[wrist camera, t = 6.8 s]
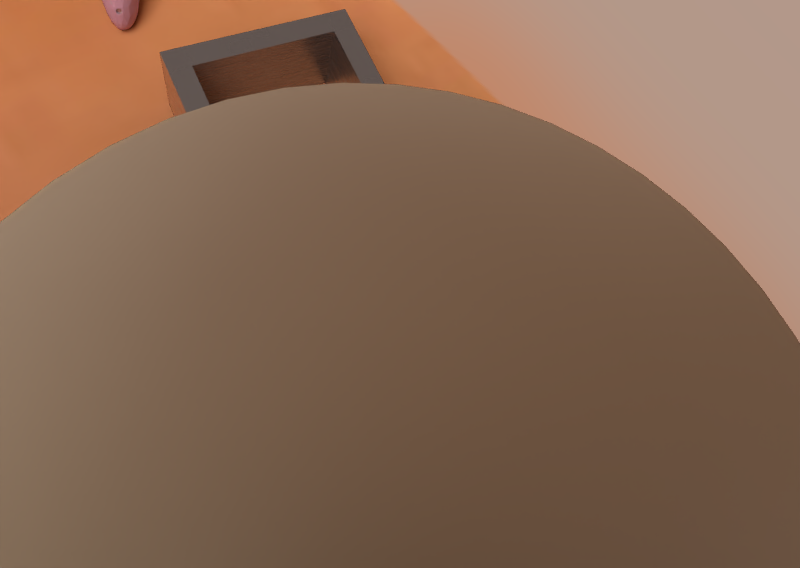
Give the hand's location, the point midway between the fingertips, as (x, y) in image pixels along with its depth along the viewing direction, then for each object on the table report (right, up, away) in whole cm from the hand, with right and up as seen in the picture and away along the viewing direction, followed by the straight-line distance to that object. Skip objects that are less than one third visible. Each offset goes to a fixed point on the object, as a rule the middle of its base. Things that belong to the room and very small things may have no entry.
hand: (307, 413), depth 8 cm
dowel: (-1, -4, +6) cm, 7 cm away
